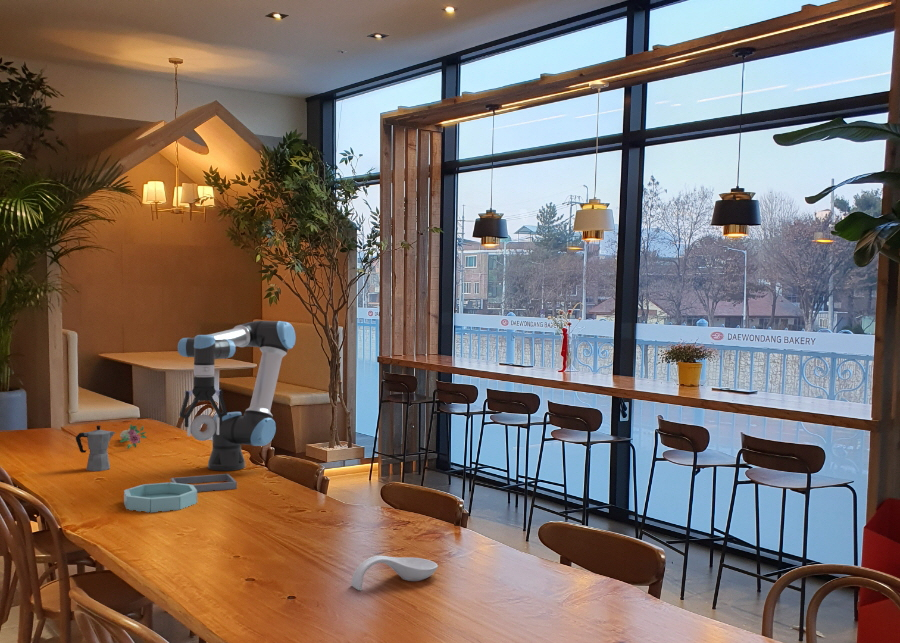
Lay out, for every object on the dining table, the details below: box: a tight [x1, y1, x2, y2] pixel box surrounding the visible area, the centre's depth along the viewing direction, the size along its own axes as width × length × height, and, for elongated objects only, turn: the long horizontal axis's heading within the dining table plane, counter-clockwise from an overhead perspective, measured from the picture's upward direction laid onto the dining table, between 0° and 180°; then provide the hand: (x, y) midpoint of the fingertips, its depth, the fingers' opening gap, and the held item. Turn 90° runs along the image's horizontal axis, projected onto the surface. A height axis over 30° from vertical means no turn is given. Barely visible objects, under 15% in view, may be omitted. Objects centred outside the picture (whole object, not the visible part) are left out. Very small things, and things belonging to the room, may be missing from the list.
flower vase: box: [119, 424, 147, 450], centre depth 394 cm, size 12×12×35 cm
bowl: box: [123, 481, 198, 513], centre depth 288 cm, size 23×23×4 cm
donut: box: [191, 414, 216, 442], centre depth 313 cm, size 10×4×10 cm, turn 130°
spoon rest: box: [350, 555, 439, 592], centre depth 215 cm, size 24×12×7 cm, turn 125°
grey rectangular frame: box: [170, 473, 238, 493], centre depth 314 cm, size 22×16×2 cm
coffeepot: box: [75, 425, 116, 472], centre depth 340 cm, size 15×9×18 cm, turn 129°
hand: (203, 435), depth 313 cm, fingers closed on donut, 10 cm apart
